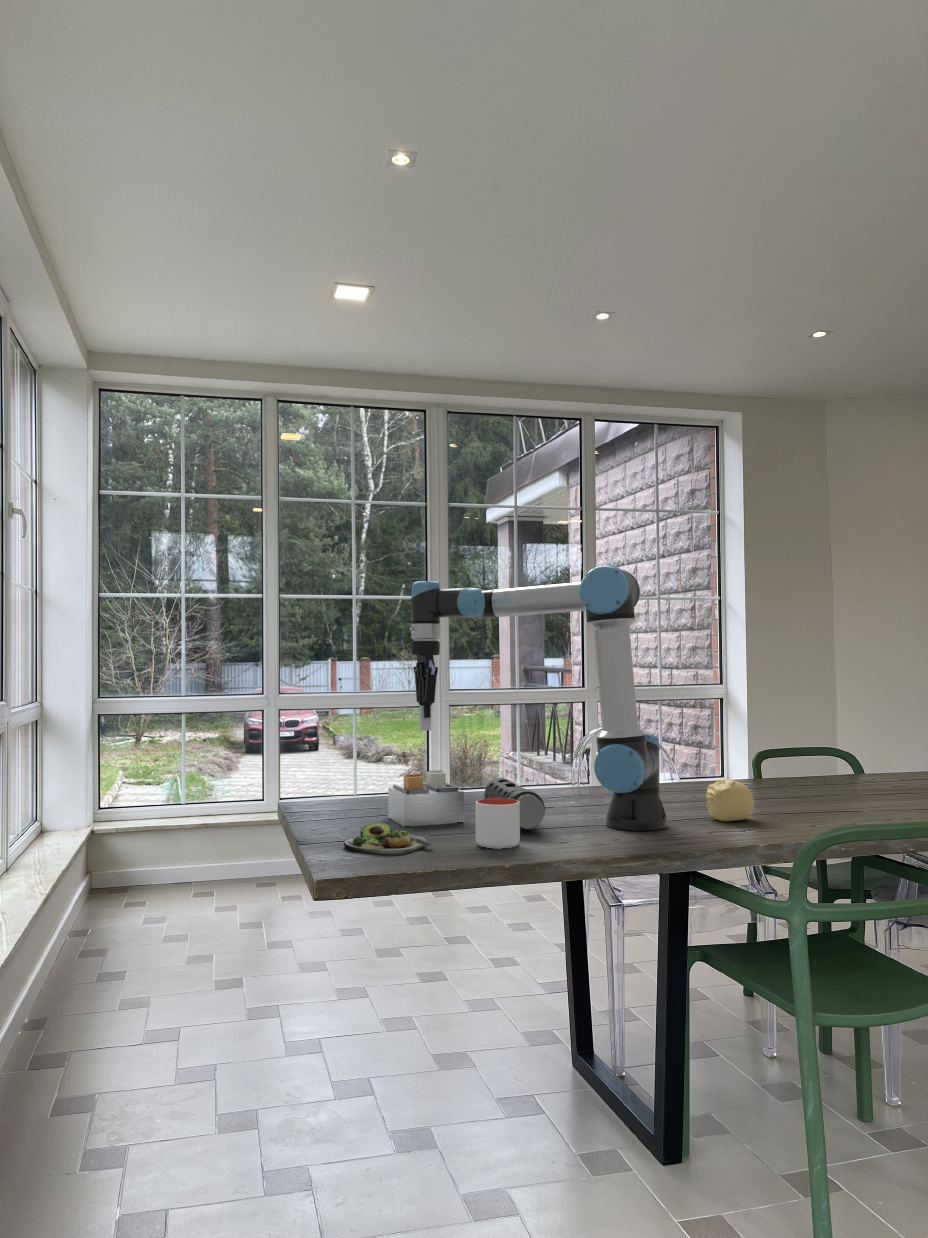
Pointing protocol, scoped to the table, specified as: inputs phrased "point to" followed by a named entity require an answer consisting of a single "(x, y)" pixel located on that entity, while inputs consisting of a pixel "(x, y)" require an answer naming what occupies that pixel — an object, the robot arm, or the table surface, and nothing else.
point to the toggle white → (436, 778)
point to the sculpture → (729, 800)
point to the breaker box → (426, 805)
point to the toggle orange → (413, 781)
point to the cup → (497, 823)
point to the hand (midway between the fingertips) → (425, 730)
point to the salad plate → (384, 840)
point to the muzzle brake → (529, 801)
